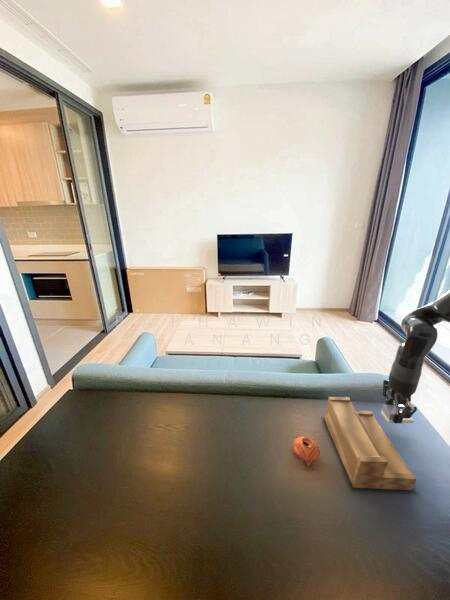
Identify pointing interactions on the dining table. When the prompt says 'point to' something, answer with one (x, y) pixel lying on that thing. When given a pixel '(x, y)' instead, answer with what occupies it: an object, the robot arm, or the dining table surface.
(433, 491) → the dining table surface
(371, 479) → the stepped wooden ledge
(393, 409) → the block chair shape
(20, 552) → the dining table surface
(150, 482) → the dining table surface
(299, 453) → the pot
